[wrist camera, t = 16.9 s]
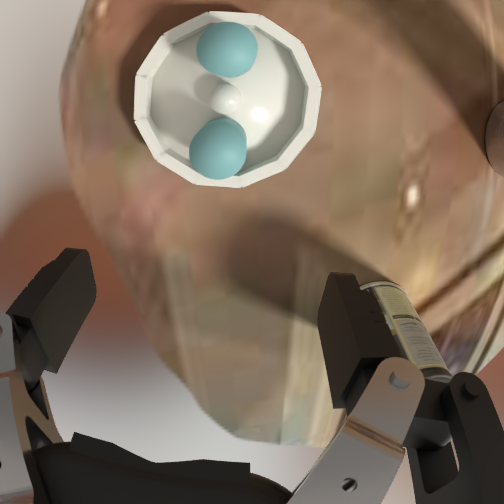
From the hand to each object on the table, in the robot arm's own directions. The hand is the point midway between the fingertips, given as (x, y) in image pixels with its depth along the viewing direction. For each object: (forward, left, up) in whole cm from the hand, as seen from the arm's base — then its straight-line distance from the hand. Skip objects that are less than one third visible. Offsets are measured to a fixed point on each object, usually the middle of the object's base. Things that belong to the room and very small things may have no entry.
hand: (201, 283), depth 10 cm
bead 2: (+1, -1, -18) cm, 18 cm away
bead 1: (+1, -9, -18) cm, 20 cm away
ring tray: (+1, -5, -19) cm, 19 cm away
